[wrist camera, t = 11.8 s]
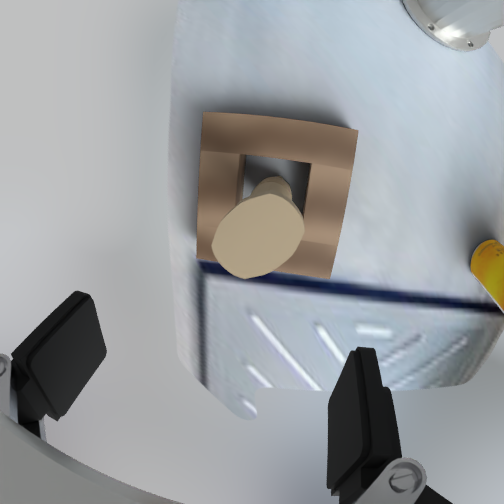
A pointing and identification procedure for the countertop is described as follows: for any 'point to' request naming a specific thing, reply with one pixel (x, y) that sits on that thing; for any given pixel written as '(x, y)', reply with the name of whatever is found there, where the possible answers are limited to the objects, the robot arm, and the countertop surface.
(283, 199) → the tan flared peg
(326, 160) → the keyed socket block
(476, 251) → the beer can
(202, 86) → the countertop surface
